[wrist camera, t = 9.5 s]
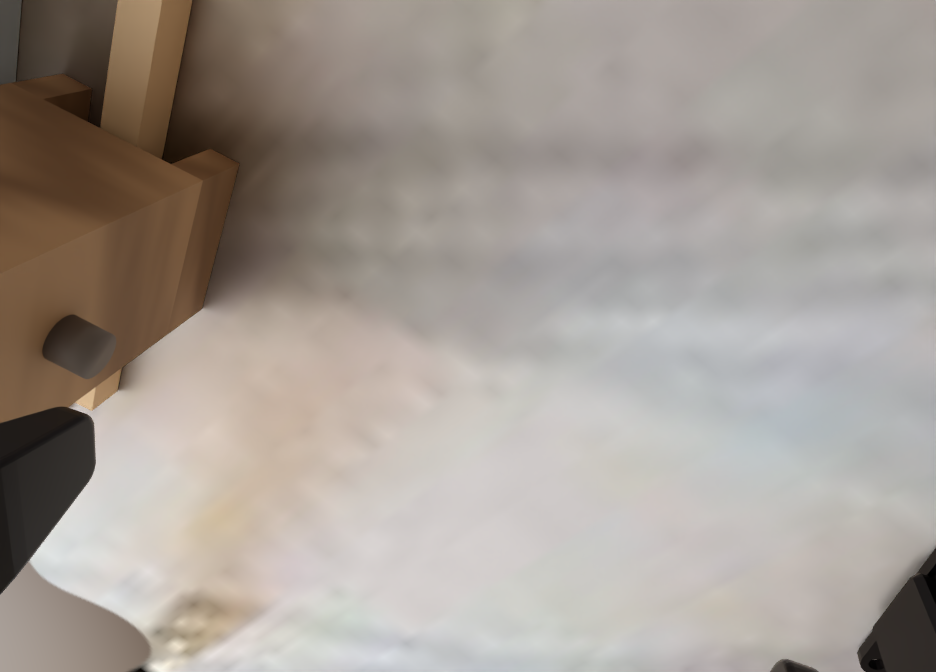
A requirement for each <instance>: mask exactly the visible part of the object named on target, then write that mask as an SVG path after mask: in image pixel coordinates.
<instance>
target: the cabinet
mask: <svg viewBox="0 0 936 672" xmlns="http://www.w3.org/2000/svg"><path fill="white" fill-rule="evenodd" d="M91 94H92V88H90V87H88V86H86V85H84V84H82V83H80V82H78V81H76V80H74V79H72V78H70V77H68V76H66V75H64V74H59V75H53V76H47V77H41V78H36V79H30V80H24V81H18V82H12V83H7V84H1V85H0V423H2V422H5V421H9V420H12V419H16V418H19V417H23V416H26V415H30V414H33V413H37V412H40V411H43V410H47V409H50V408H54V407H61V406H62V407H67V408H68V407H69V406H71V405H72V404H73V403H75V402H76V401H77V400H79V399H80V398H82V397H83V396H84V395H86V394H87V393H88V392H90V391H91V390H92V389H94V388H95V387H96V386H98V385H99V384H101V383H102V382H103V381H105V380H106V379H107V378H109V377H110V376H111V375H113V374H114V373H116V372H117V371H118V370H120V369H121V368H122V367H124V366H125V365H126V364H128V363H129V362H130V361H132V360H133V359H135V358H136V357H137V356H139V355H140V354H141V353H143V352H144V351H145V350H147V349H148V348H149V347H151V346H152V345H154V344H155V343H156V342H158V341H159V340H160V339H162V338H163V337H164V336H166V335H167V334H169V333H170V332H171V331H173V330H174V329H175V328H177V327H178V326H179V325H181V324H182V323H183V322H185V321H186V320H188V319H189V318H190V317H192V316H193V315H194V314H196V313H197V312H198V311H200V310H201V309H202V306H203V303H204V299H205V295H206V291H207V287H208V283H209V279H210V276H211V272H212V268H213V264H214V260H215V256H216V253H217V249H218V245H219V241H220V237H221V233H222V229H223V226H224V222H225V218H226V214H227V210H228V206H229V203H230V199H231V195H232V191H233V187H234V183H235V179H236V176H237V172H238V168H239V163H237V162H235V161H233V160H231V159H229V158H227V157H225V156H224V155H222V154H220V153H218V152H216V151H214V150H212V149H208V150H205V151H203V152H200V153H198V154H195V155H193V156H190V157H188V158H185V159H183V160H180V161H178V162H175V163H173V164H169V163H167V162H166V161H164V160H162V159H160V158H158V157H156V156H154V155H152V154H150V153H148V152H146V151H144V150H142V149H140V148H138V147H136V146H134V145H132V144H130V143H128V142H126V141H124V140H122V139H120V138H118V137H116V136H114V135H113V134H111V133H109V132H107V131H105V130H103V129H101V128H99V127H97V126H95V125H93V124H91V123H89V122H88V116H89V108H90V101H91Z"/></svg>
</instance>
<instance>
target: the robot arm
mask: <svg viewBox="0 0 936 672" xmlns="http://www.w3.org/2000/svg"><path fill="white" fill-rule="evenodd" d="M95 464H96V457H95V433H94V422H93V420H92V418H91V417H90V416H89V415H87V414H85V413H82V412H79V411H76V410H73V409H70V408H67V407H62V406H61V407H54V408H50V409H47V410H43V411H40V412H37V413H33V414H30V415H26V416H23V417H19V418H16V419H12V420H9V421H5V422H2V423H0V594H1V593H2V592H3V591H4V590H5V589H6V588H7V586H8V585H9V584H10V583H11V582H12V581H13V580H14V579H15V577H16V576H17V575H18V573H19V572H20V571H21V570H22V569H23V567H24V566H25V565H26V564H27V562H28V561H29V560H30V559H31V557H32V556H33V555H34V553H35V552H36V551H37V549H38V548H39V547H40V545H41V544H42V543H43V541H44V540H45V539H46V538H47V536H48V535H49V534H50V532H51V531H52V530H53V528H54V527H55V526H56V524H57V523H58V522H59V520H60V519H61V518H62V516H63V515H64V514H65V512H66V511H67V510H68V508H69V507H70V506H71V504H72V503H73V502H74V501H75V499H76V498H77V497H78V495H79V494H80V493H81V491H82V490H83V489H84V487H85V486H86V485H87V483H88V482H89V480H90V479H91V477H92V475H93V472H94V469H95ZM857 654H858V658H859V662H860V665H861V668H862V669H863V670H864V671H865V672H936V549H935V550H934V551H933V553H932V554H931V555H930V557H929V558H928V559H927V561H926V562H925V563H924V565H923V566H922V567H921V568H920V570H919V571H918V572H917V574H916V575H914V576H913V577H911V578H910V579H909V581H908V582H907V583H906V584H905V586H904V587H903V588H902V590H901V591H900V592H899V594H898V595H897V596H896V598H895V599H894V600H893V602H892V603H891V604H890V605H889V607H888V608H887V609H886V611H885V612H884V613H883V615H882V616H881V617H880V619H879V620H878V621H877V623H876V624H875V625H874V627H873V631H872V633H871V634H870V635H869V636H868V638H867V639H866V640H865V642H864V643H863V644H862V646H861V647H860V648H859V650H858V652H857ZM872 659H877V660H872ZM770 672H818V671H817V670H816V669H814V668H811V667H809V666H806V665H803V664H800V663H797V662H794V661H792V660H789V659H782V660H780V661H778V662H777V663H776V664H775V665H774V667H773V668H772V670H771V671H770Z"/></svg>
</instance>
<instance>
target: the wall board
mask: <svg viewBox="0 0 936 672" xmlns="http://www.w3.org/2000/svg"><path fill="white" fill-rule="evenodd" d="M21 4H22V0H0V85H1V84H7V83H12V82H16V70H17V57H18V44H19V30H20V17H21ZM191 5H192V0H118V3H117V10H116V17H115V24H114V31H113V39H112V46H111V53H110V60H109V67H108V74H107V81H106V88H105V95H104V102H103V109H102V116H101V123H100V128H101V129H103V130H105V131H107V132H109V133H111V134H113V135H114V136H116V137H118V138H120V139H122V140H124V141H126V142H128V143H130V144H132V145H134V146H136V147H138V148H140V149H142V150H144V151H146V152H148V153H150V154H152V155H154V156H156V157H158V158H160V159H162V156H163V151H164V146H165V141H166V136H167V130H168V125H169V120H170V115H171V109H172V104H173V99H174V94H175V89H176V83H177V78H178V73H179V68H180V63H181V57H182V52H183V47H184V42H185V37H186V31H187V26H188V21H189V16H190V11H191ZM121 370H122V368H121V369H120V370H118V371H117V372H116V373H114V374H113V375H111V376H110V377H109V378H107V379H106V380H105V381H103V382H102V383H101V384H99V385H98V386H96V387H95V388H94V389H92V390H91V391H90V392H88V393H87V394H86V395H84V396H83V397H82V398H80V399H79V400H77V401H76V402H75V403H77V404H79V405H81V406H83V407H85V408H87V409H89V410H91V411H92V410H94V409H95V408H96V407H97V406H99V405H100V404H101V403H103V402H104V401H105V400H106V399H108V398H109V397H110V396H112V395H113V394H114V393H116V392H117V391H118V385H119V380H120V375H121Z"/></svg>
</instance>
